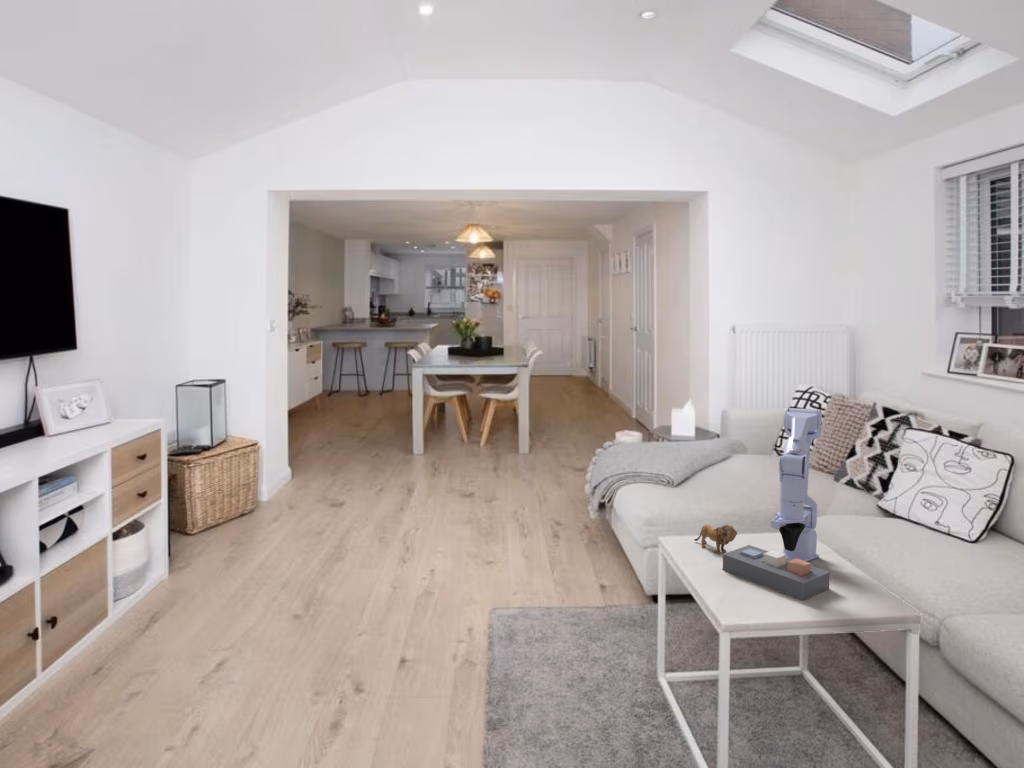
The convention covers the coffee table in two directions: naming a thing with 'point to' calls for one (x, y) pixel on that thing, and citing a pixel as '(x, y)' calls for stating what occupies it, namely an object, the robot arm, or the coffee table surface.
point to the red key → (799, 567)
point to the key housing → (776, 574)
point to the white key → (774, 559)
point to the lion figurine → (718, 535)
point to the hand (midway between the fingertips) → (789, 549)
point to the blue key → (751, 553)
